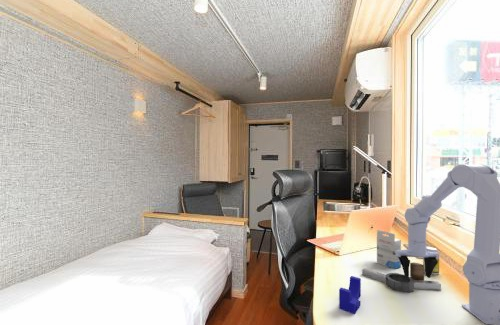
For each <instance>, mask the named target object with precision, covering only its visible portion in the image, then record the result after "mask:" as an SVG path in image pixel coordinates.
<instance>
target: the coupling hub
mask: <svg viewBox="0 0 500 325" xmlns="http://www.w3.org/2000/svg"><path fill="white" fill-rule="evenodd" d="M409 277H411V278H412V279H413V280H425V272H424V265H423V263H419V262H410V265H409Z"/></svg>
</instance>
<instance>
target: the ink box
mask: <svg viewBox="0 0 500 325" xmlns="http://www.w3.org/2000/svg"><path fill="white" fill-rule="evenodd" d="M376 232H377V233H376V263H377V264H380V265H382V266H385V267H389V268H391V269H394V270H396V269H398V268H401V267H402V265H401V262H400V260H399V258H398V256H396V250H402V239H399V238H395V237H396V234H395V233H393V232H387V231H383V230H379V229H377V230H376Z"/></svg>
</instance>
